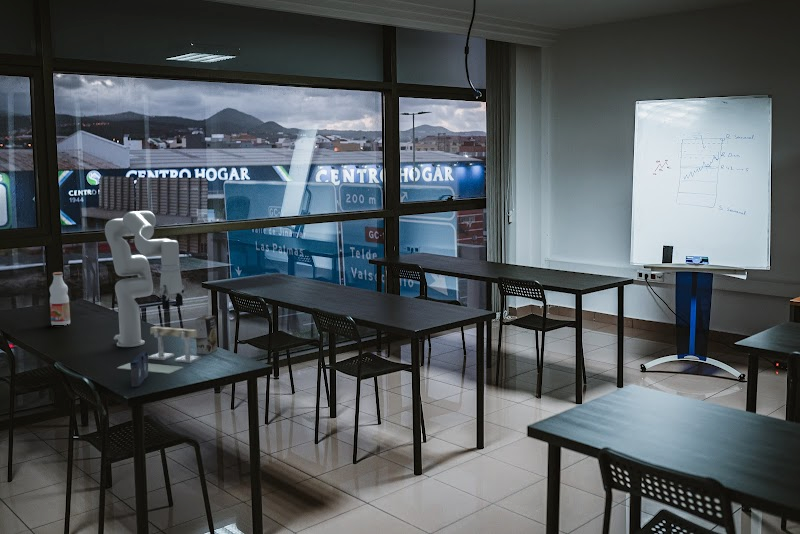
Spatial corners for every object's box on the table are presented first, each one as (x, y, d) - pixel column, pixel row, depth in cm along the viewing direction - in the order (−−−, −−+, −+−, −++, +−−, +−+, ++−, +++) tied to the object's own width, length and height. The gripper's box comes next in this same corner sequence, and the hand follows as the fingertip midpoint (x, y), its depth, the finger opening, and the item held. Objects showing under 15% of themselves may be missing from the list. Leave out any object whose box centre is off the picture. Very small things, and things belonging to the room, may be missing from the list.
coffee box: (209, 354, 361) (208, 319, 359) (196, 353, 362) (194, 318, 360) (217, 349, 370) (216, 315, 368) (204, 349, 371) (203, 314, 369)
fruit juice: (72, 324, 426) (69, 272, 423) (54, 327, 421) (51, 274, 417) (67, 321, 434) (64, 270, 430) (49, 324, 428) (45, 272, 424)
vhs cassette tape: (142, 374, 328) (141, 351, 326) (150, 374, 328) (148, 351, 326) (130, 387, 309) (128, 362, 308) (137, 387, 310) (136, 362, 308)
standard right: (174, 361, 349) (173, 332, 347) (185, 357, 356) (184, 328, 354) (190, 362, 346) (189, 333, 344) (201, 358, 353) (199, 329, 352)
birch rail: (150, 334, 354) (150, 327, 354) (154, 332, 357) (154, 326, 357) (192, 337, 347) (192, 331, 347) (196, 336, 350) (196, 329, 349)
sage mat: (117, 368, 337) (117, 367, 337) (132, 362, 347) (132, 361, 347) (169, 373, 329) (169, 372, 329) (183, 367, 338) (183, 366, 338)
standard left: (148, 358, 353) (146, 329, 352) (159, 354, 361) (157, 326, 359) (163, 360, 351) (161, 331, 349) (174, 356, 358) (173, 327, 356)
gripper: (175, 265, 357) (177, 303, 359) (151, 270, 341) (153, 310, 343) (189, 266, 355) (191, 304, 357) (165, 271, 339) (167, 311, 341)
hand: (172, 307), depth 350 cm, fingers open, 9 cm apart
